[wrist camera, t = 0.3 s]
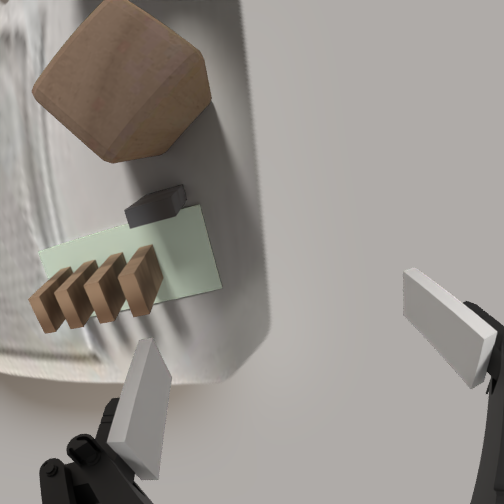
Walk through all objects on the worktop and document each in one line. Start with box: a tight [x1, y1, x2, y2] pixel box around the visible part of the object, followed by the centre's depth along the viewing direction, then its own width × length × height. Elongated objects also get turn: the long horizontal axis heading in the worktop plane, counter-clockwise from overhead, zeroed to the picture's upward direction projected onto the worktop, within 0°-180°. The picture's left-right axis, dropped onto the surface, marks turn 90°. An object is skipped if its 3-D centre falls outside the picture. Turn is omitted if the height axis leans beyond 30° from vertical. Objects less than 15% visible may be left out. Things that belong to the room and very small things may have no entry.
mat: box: [38, 204, 222, 317], centre depth 42 cm, size 12×26×1 cm, turn 102°
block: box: [32, 0, 212, 163], centre depth 26 cm, size 10×10×20 cm
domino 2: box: [84, 252, 127, 324], centre depth 37 cm, size 5×2×10 cm, turn 12°
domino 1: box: [54, 260, 98, 329], centre depth 37 cm, size 5×2×10 cm, turn 12°
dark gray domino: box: [124, 185, 187, 229], centre depth 35 cm, size 5×2×10 cm, turn 102°
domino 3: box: [118, 244, 163, 317], centre depth 37 cm, size 5×2×10 cm, turn 12°
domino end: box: [28, 266, 73, 334], centre depth 37 cm, size 5×2×10 cm, turn 12°
